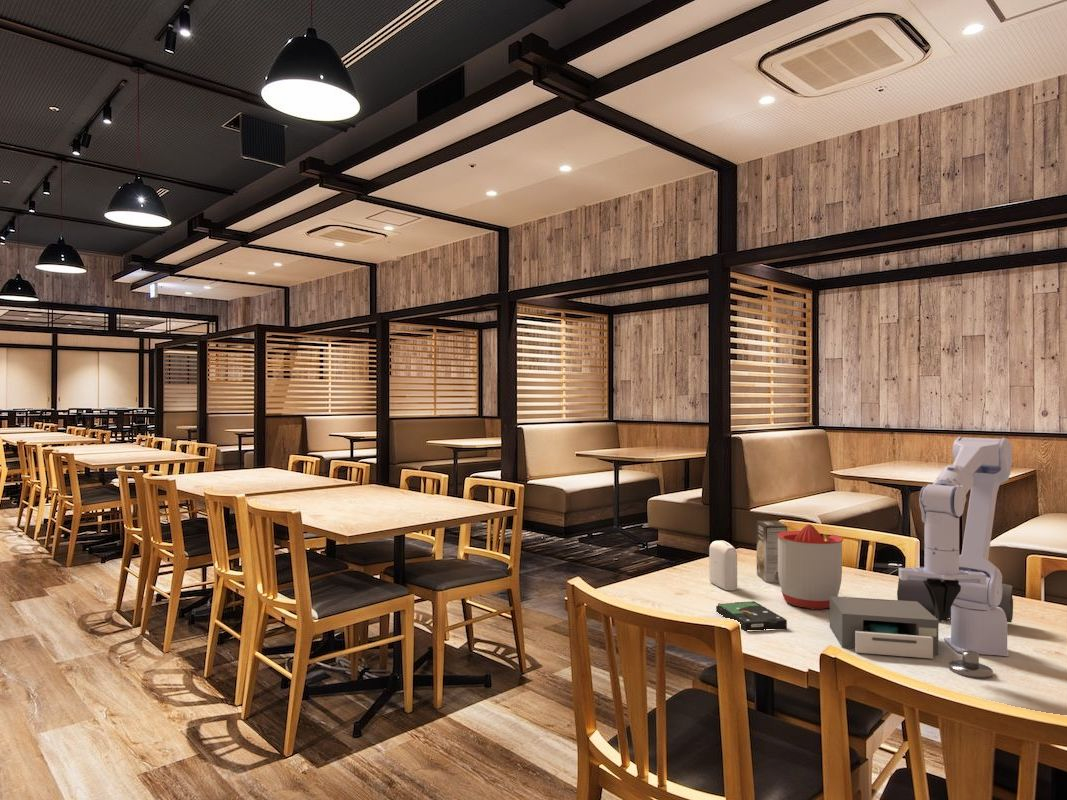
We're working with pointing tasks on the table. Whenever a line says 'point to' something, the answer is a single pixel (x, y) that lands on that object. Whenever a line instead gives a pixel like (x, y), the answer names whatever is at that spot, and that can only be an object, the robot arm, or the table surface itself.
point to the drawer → (893, 644)
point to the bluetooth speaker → (919, 593)
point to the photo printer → (723, 565)
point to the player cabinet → (879, 618)
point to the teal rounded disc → (883, 627)
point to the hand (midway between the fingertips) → (941, 619)
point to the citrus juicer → (809, 567)
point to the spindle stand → (970, 666)
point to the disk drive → (752, 616)
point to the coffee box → (768, 549)
